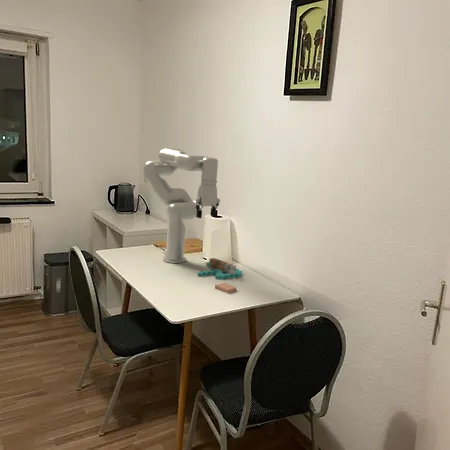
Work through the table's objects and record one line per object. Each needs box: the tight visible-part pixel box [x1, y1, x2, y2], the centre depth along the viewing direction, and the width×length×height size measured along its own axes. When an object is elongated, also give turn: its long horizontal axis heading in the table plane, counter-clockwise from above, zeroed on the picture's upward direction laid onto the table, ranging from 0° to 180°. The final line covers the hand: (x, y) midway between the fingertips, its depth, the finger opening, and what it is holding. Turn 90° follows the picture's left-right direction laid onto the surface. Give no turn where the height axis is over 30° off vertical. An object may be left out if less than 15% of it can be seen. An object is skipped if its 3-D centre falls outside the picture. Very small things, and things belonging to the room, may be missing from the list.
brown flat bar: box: [208, 257, 237, 275], centre depth 232 cm, size 16×3×4 cm, turn 46°
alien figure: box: [197, 261, 243, 280], centre depth 233 cm, size 20×2×20 cm
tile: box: [214, 282, 237, 294], centre depth 209 cm, size 2×6×8 cm
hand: (206, 217), depth 227 cm, fingers open, 9 cm apart
